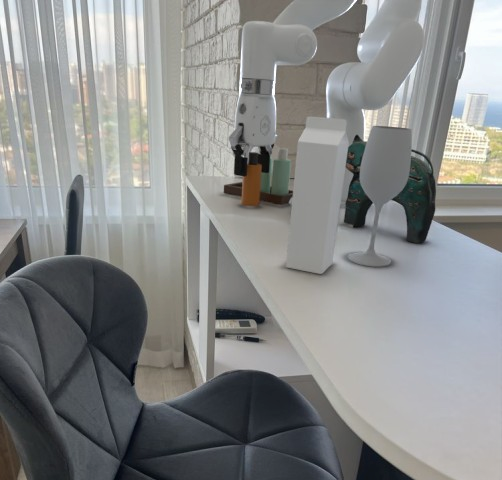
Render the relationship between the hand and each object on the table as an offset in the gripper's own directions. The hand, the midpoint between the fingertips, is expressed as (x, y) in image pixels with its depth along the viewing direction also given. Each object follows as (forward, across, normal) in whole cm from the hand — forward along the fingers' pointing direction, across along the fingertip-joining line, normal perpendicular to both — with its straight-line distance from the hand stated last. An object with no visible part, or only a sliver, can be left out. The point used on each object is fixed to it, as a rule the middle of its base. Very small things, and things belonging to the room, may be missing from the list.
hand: (251, 173), depth 116 cm
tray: (+7, +10, +3) cm, 13 cm away
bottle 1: (+7, +10, +3) cm, 12 cm away
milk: (+8, -28, -33) cm, 44 cm away
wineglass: (+8, -18, -38) cm, 43 cm away
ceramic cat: (+8, +2, -32) cm, 33 cm away
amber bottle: (+7, 0, 0) cm, 7 cm away
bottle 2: (+7, +10, -2) cm, 12 cm away
